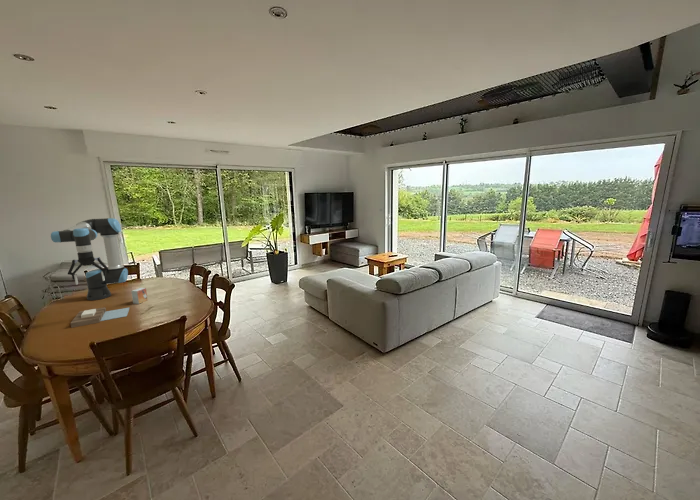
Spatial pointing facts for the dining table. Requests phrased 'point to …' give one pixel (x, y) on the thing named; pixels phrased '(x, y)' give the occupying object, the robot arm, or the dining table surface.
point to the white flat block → (88, 313)
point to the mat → (115, 314)
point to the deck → (88, 318)
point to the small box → (139, 295)
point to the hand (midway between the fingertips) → (90, 282)
